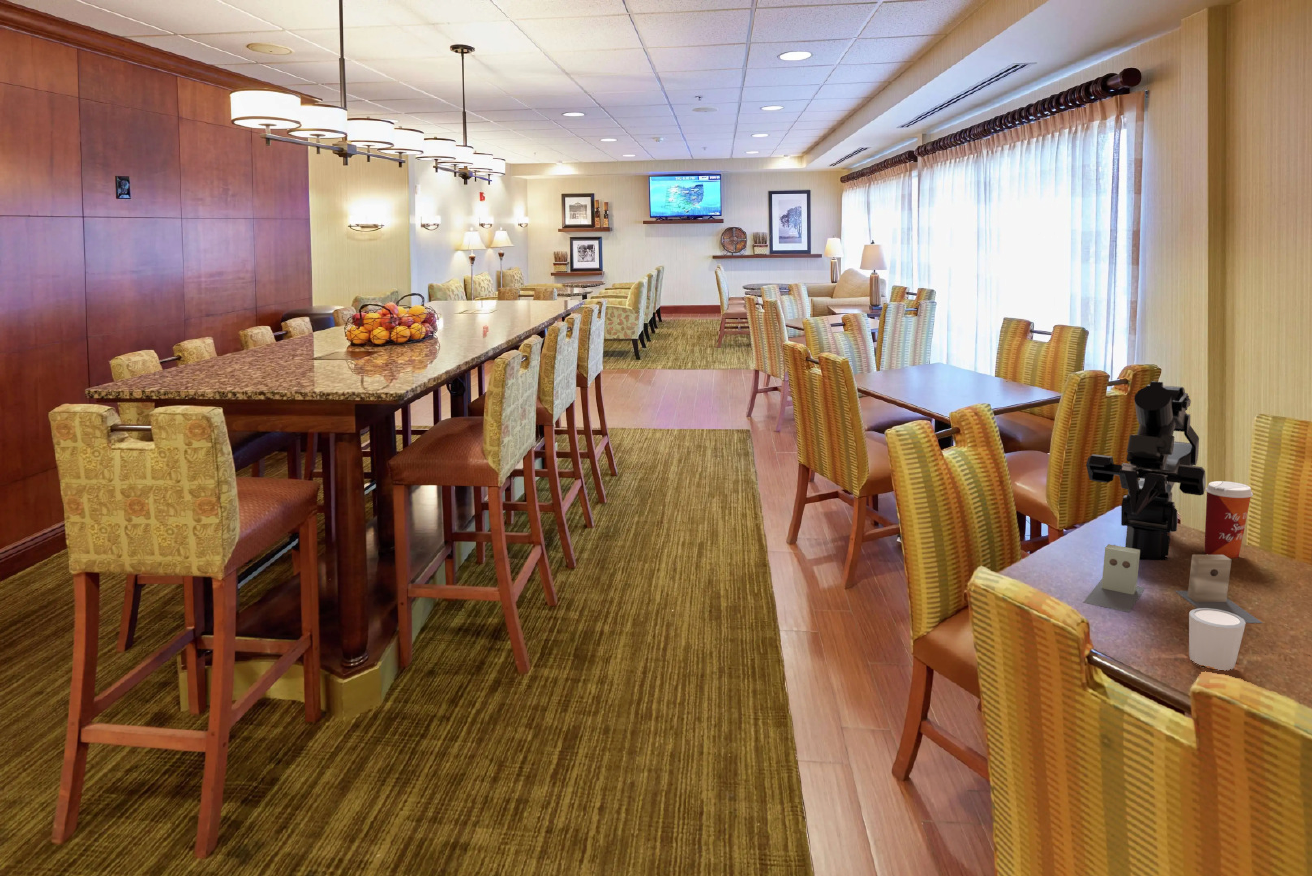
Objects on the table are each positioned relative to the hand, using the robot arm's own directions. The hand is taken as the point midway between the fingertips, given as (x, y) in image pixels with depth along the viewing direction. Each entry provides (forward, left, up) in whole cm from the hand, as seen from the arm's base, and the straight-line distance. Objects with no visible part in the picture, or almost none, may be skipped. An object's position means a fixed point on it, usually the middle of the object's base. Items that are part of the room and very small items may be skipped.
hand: (1134, 513), depth 152 cm
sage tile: (-4, -6, -12) cm, 14 cm away
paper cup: (+23, +14, -13) cm, 30 cm away
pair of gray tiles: (0, -11, -13) cm, 16 cm away
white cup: (-1, -32, -13) cm, 34 cm away
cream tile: (+9, -10, -12) cm, 18 cm away
